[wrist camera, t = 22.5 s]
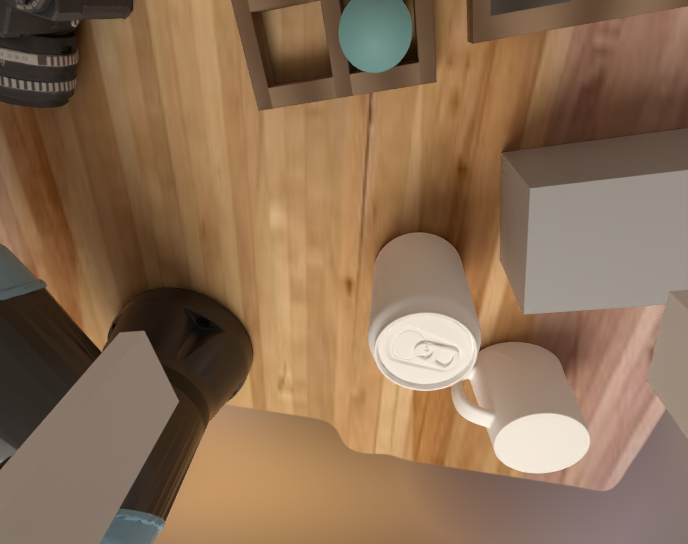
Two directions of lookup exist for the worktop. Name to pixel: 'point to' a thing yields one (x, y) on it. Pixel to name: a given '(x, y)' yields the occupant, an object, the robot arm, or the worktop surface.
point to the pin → (375, 33)
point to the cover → (596, 222)
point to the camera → (45, 47)
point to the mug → (525, 407)
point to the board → (549, 14)
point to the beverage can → (422, 314)
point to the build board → (343, 78)
